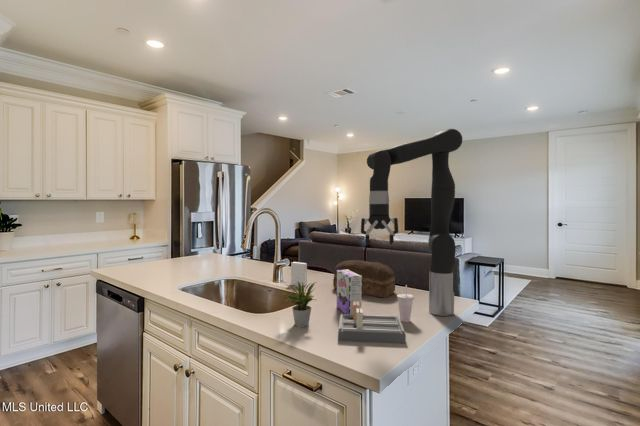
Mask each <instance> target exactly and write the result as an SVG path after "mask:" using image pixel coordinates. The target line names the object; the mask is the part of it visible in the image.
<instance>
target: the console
mask: <svg viewBox="0 0 640 426" xmlns="http://www.w3.org/2000/svg"><path fill="white" fill-rule="evenodd" d="M406 335H407V334H406V332H405V328H404V326H403V324H402V321H400V315H380V314H379V315H378V314H363V324H362V329H360V328H356V320H353V314H345V313H344V314H343V313H341V314H340V316H339V321H338V330H337V340H338V341H345V342H346V341H348V342H349V341H350V342H370V343H371V342H372V343H389V344H390V343H394V344H395V343H396V344H406V339H407V337H406Z"/></svg>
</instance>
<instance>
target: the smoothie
mask: <svg viewBox="0 0 640 426" xmlns="http://www.w3.org/2000/svg"><path fill="white" fill-rule="evenodd" d="M404 290H405V293H399V294H397V295H396V298H397V303H398V312H399V313H398V315H399V318H400V321H401V323H402V322H403V323H409V322H411V316H412V309H413V302H414V299H415V298H414V297H415V296H414V295H413V294H410V293H409V294H408V285H407V284H406V285H405V289H404Z"/></svg>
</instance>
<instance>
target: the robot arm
mask: <svg viewBox="0 0 640 426" xmlns="http://www.w3.org/2000/svg"><path fill="white" fill-rule="evenodd" d="M462 144H463V135H462V133H461V132H460V131H459V130H458V129H455V128H447V129H444V130H440V131H437V132H436V133H434V134H433V136H432V137H428V138H425V139H421V140H416V141H410V142H406V143H402V144H399V145H396V146H393V147H391V148H386V149H379V150H377V151H373V152H371V153H369V154H368V156H367V159H366V164H367V166H368V168H369V169H370V170H372V171H373V173H372V176H371V177H369V196H368V206H369V208H368V209H369V210H368V211H369V212H368V213H369V214H368V215H369V216H368V218H365V217H362V218H361V221H360V223H361V225H360V233H361V234H363V235H365V244H367V245H368V246H369V245H370V233H371V232H372V231H373V230H379V229H380V230H384V229H386V231H387V232H388V233H389V237H388V239H389V242H388V243H389V245H390V246H391V245H393V244H394V235H396V234H398V233H399V223H398V222H399V220H398V218H397V217H391V218H390V197H389V177H390V171H391V167H392V165H393V166H394V165H399V164H403V163H407V162H410V161H413V160H417V159H419V158H422V157H426V156H429V155H431V160H432V161H431V164H432V166H431V167H432V170H431V171H432V172H431V178H432V179H431V193H430V195H431V196H430V207H431V208H430V210H431V211H430V213H431V215H430V217H431V219H430V221H431V222H430V229H429V236H428V246H429V249H430V250H431V257H430V258H431V259H430V264H429V281H428V285H429V286H428V288H429V289H428V312H429V313H430V314H432V315H433V316H439V317H447V316H449V317H450V316H454V315H455V292H454V287H453V285H454V267H455V264H456V263H455V262H456V242H455V239H454V238H453V237H452V235H450V218H451V216H452V211H453V209H454V205H455V198H456V183H455V180H454V177H453V175H452V172H451V170H450V165H449V155H450V153H453V152H455V151H457V150H459V148H460V147H461V146H462ZM367 222H368V223H369V224H370V226H368V229H367V230H365V225H366V224H367ZM390 222H391V223H392V224H393V230H392V228H391V227H390V226H389V224H390Z"/></svg>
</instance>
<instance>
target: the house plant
mask: <svg viewBox="0 0 640 426" xmlns="http://www.w3.org/2000/svg"><path fill="white" fill-rule="evenodd" d="M316 283H318V281H316V282H313V283H312V282H311V283H308V284H307V285H306V286H304V284H303V283H302V286H301V285H300V283H299V282H298V286H296V285H295V284H294V285H295V286H292V285H287V284H285V286H287V289H288V290H290V289H291V290H290V291H291V292H292V293H293V294H294V295H291V294H289V293H284V292H280V294H281V295H284V296H285V297H287V299H285V300H284V302H288V301H291V302H292V303H294V304H295V305H294V306H293V307H292V314H293V320H294V325H295V326H296V327H298V328H299V327H300V328H301V327H302V328H303V327H308V326H309V325H310V319H311V311H312V307H311V306H310V305H308V304H309V302H312V301H317V300H316V298H315V299H313V298H314V297H315V296H312V295H311V294H312V293H313V291H314V290H315V288H316V287H315V288H313V287H314V286H315V284H316ZM294 287H295V288H296V289H295V288H294ZM307 288H308V289H307ZM312 297H313V298H312Z"/></svg>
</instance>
